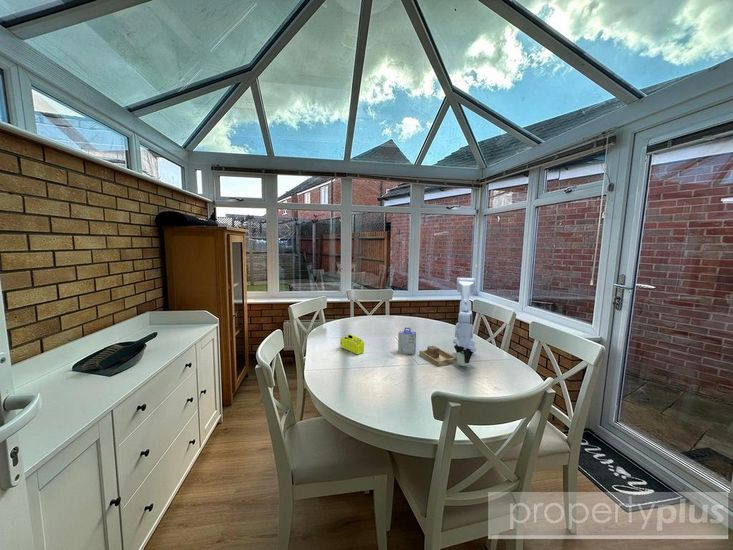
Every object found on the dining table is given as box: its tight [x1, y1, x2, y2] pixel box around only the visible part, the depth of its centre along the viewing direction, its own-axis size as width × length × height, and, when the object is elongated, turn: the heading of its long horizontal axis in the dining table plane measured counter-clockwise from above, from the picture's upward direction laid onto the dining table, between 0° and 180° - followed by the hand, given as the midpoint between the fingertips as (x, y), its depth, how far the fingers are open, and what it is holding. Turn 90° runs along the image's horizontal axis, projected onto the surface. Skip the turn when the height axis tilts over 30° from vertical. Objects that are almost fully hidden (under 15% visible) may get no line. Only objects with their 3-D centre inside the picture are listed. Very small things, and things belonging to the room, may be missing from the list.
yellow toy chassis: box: [340, 333, 365, 355], centre depth 177 cm, size 16×6×8 cm, turn 41°
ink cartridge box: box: [397, 327, 417, 355], centre depth 173 cm, size 10×6×14 cm, turn 76°
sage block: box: [456, 351, 471, 366], centre depth 153 cm, size 4×4×6 cm
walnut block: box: [426, 345, 440, 358], centre depth 167 cm, size 4×5×5 cm
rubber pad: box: [449, 363, 477, 372], centre depth 154 cm, size 9×9×1 cm
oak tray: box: [418, 348, 457, 367], centre depth 164 cm, size 13×17×3 cm
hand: (463, 360), depth 153 cm, fingers closed on sage block, 4 cm apart
